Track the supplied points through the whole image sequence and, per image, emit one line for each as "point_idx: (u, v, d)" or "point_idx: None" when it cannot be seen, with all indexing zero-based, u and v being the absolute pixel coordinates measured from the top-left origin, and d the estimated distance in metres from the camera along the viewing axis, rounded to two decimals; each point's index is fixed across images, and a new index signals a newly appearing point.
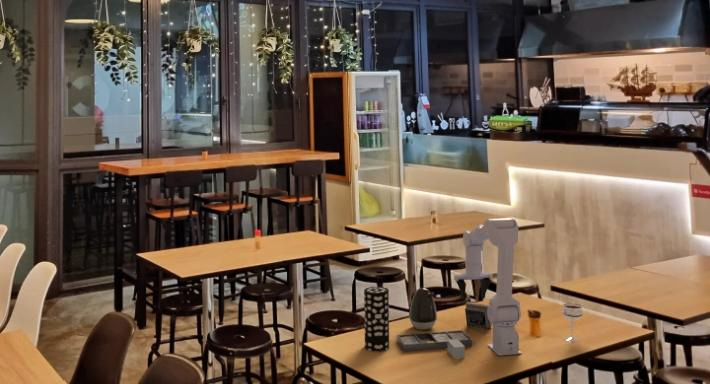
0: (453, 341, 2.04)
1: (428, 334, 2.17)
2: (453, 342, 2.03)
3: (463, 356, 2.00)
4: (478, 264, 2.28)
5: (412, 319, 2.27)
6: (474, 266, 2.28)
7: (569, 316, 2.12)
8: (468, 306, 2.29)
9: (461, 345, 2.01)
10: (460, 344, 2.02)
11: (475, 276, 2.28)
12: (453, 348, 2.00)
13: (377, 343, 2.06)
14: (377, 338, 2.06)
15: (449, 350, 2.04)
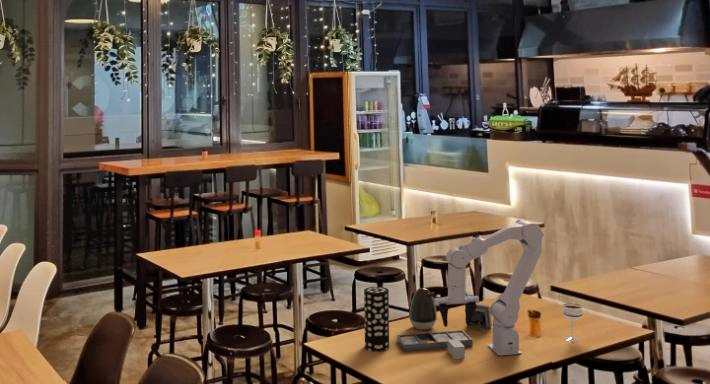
0: (453, 341, 2.04)
1: (428, 334, 2.17)
2: (453, 342, 2.03)
3: (463, 356, 2.00)
4: (462, 287, 2.00)
5: (412, 319, 2.27)
6: (457, 289, 1.99)
7: (569, 316, 2.12)
8: None
9: (461, 345, 2.01)
10: (460, 344, 2.01)
11: (458, 300, 1.99)
12: (453, 348, 2.00)
13: (377, 343, 2.06)
14: (377, 338, 2.06)
15: (449, 350, 2.04)
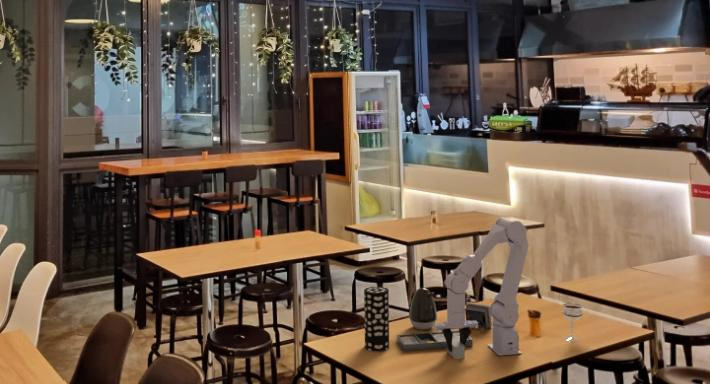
0: (453, 341, 2.04)
1: (428, 334, 2.17)
2: (453, 342, 2.03)
3: (463, 356, 2.00)
4: (461, 312, 1.99)
5: (412, 319, 2.27)
6: (457, 314, 1.99)
7: (569, 316, 2.12)
8: (468, 306, 2.29)
9: (461, 345, 2.01)
10: (460, 344, 2.01)
11: (458, 326, 1.99)
12: (453, 348, 2.00)
13: (377, 343, 2.06)
14: (377, 338, 2.06)
15: None
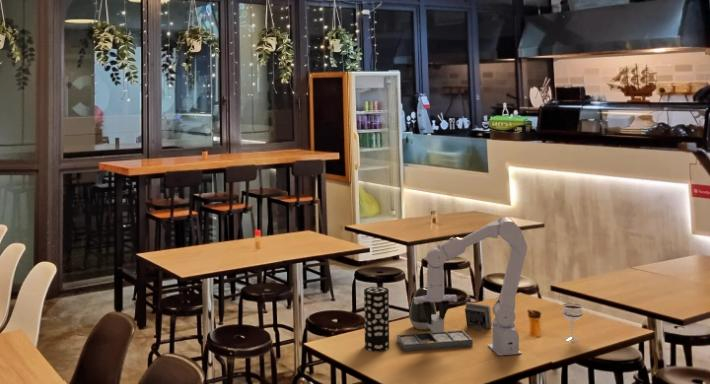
0: (433, 316, 2.10)
1: (428, 334, 2.17)
2: (433, 317, 2.08)
3: (442, 330, 2.05)
4: (440, 286, 2.05)
5: (412, 319, 2.27)
6: (436, 288, 2.04)
7: (569, 316, 2.12)
8: (468, 306, 2.29)
9: (440, 319, 2.06)
10: (439, 318, 2.07)
11: (437, 299, 2.05)
12: (433, 322, 2.05)
13: (377, 343, 2.06)
14: (377, 338, 2.06)
15: None
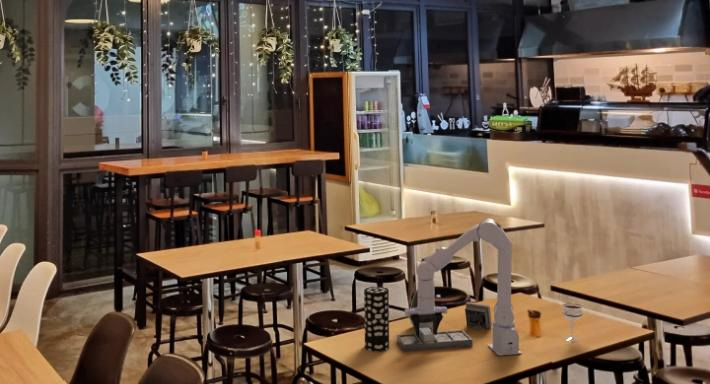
0: (424, 329, 2.14)
1: None
2: (424, 330, 2.12)
3: None
4: (431, 298, 2.09)
5: None
6: (426, 300, 2.08)
7: (569, 316, 2.12)
8: (468, 306, 2.29)
9: (431, 333, 2.10)
10: (430, 332, 2.11)
11: (427, 311, 2.08)
12: (423, 336, 2.09)
13: (377, 343, 2.06)
14: (377, 338, 2.06)
15: (420, 338, 2.13)
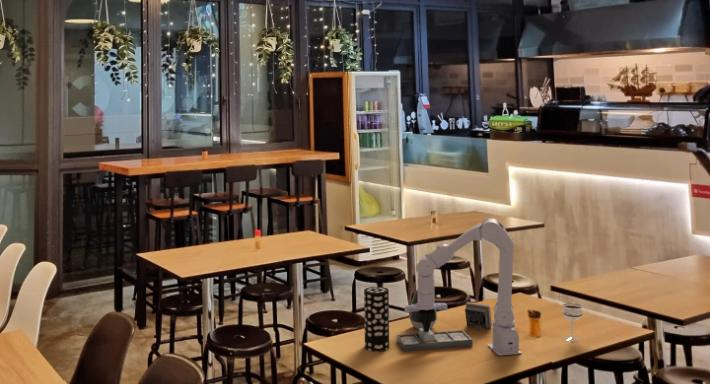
0: None
1: None
2: None
3: None
4: (431, 294, 2.08)
5: (412, 319, 2.27)
6: (426, 296, 2.08)
7: (569, 316, 2.12)
8: (468, 306, 2.29)
9: (431, 333, 2.10)
10: (430, 332, 2.11)
11: (427, 307, 2.08)
12: (423, 336, 2.09)
13: (377, 343, 2.06)
14: (377, 338, 2.06)
15: (420, 338, 2.13)
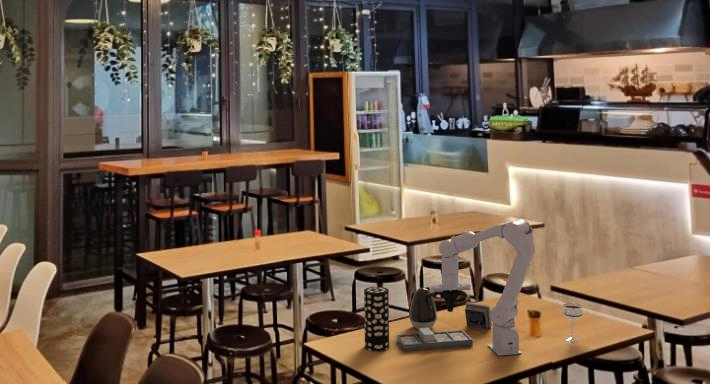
0: (424, 329, 2.14)
1: None
2: (424, 330, 2.12)
3: None
4: (455, 275, 2.13)
5: (412, 319, 2.27)
6: (451, 277, 2.13)
7: (569, 316, 2.12)
8: (468, 306, 2.29)
9: (431, 333, 2.10)
10: (430, 332, 2.11)
11: (452, 288, 2.13)
12: (423, 336, 2.09)
13: (377, 343, 2.06)
14: (377, 338, 2.06)
15: (420, 338, 2.13)
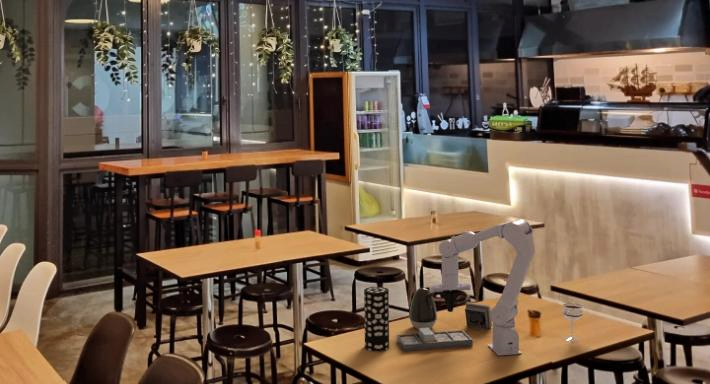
0: (424, 329, 2.14)
1: None
2: (424, 330, 2.12)
3: None
4: (455, 275, 2.13)
5: (412, 319, 2.27)
6: (451, 277, 2.13)
7: (569, 316, 2.12)
8: (468, 306, 2.29)
9: (431, 333, 2.10)
10: (430, 332, 2.11)
11: (452, 288, 2.13)
12: (423, 336, 2.09)
13: (377, 343, 2.06)
14: (377, 338, 2.06)
15: (420, 338, 2.13)
